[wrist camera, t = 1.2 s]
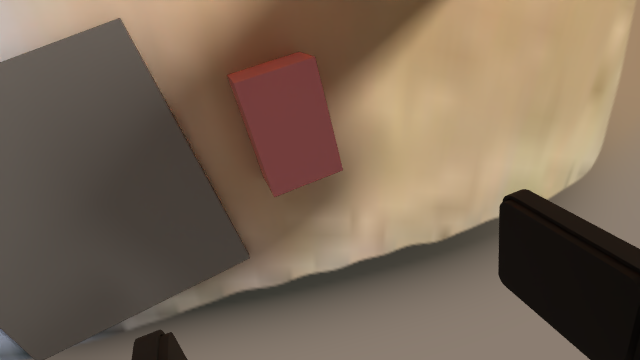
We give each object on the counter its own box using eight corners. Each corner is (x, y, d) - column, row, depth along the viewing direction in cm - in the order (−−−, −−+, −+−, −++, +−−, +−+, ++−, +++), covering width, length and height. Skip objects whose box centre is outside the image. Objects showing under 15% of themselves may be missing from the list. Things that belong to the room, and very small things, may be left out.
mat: (120, 18, 24) (118, 18, 23) (248, 254, 33) (249, 258, 33) (-197, 136, 21) (-207, 139, 21) (40, 356, 31) (38, 362, 30)
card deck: (297, 51, 29) (314, 56, 25) (325, 153, 32) (343, 170, 29) (226, 74, 28) (234, 83, 24) (263, 176, 31) (274, 197, 28)
